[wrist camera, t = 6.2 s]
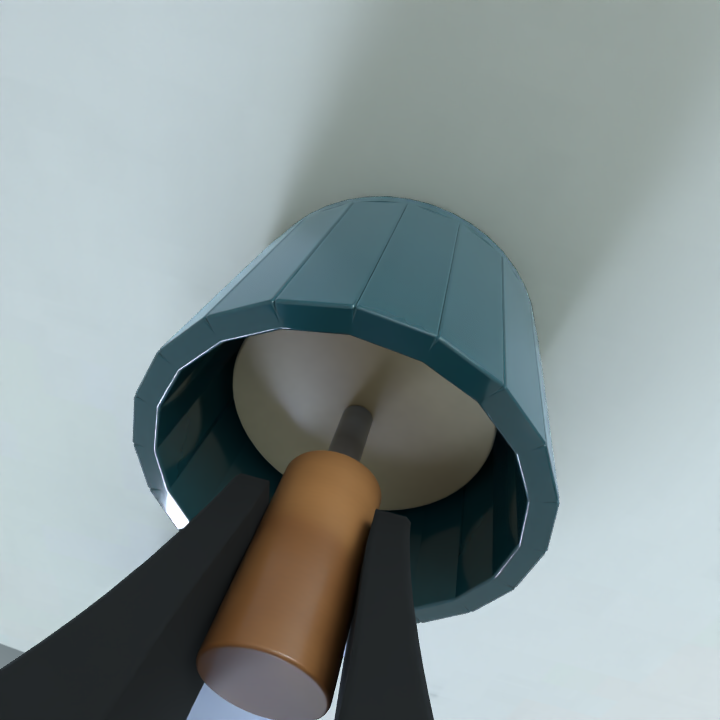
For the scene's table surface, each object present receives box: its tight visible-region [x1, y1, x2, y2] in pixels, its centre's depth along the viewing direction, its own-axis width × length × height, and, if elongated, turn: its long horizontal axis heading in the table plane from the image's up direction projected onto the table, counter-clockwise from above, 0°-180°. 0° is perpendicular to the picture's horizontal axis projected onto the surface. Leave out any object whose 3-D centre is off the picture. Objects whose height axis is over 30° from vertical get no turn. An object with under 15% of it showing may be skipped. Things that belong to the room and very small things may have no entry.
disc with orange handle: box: [196, 329, 497, 720], centre depth 12 cm, size 7×7×9 cm
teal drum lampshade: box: [133, 196, 559, 623], centre depth 14 cm, size 9×9×7 cm
